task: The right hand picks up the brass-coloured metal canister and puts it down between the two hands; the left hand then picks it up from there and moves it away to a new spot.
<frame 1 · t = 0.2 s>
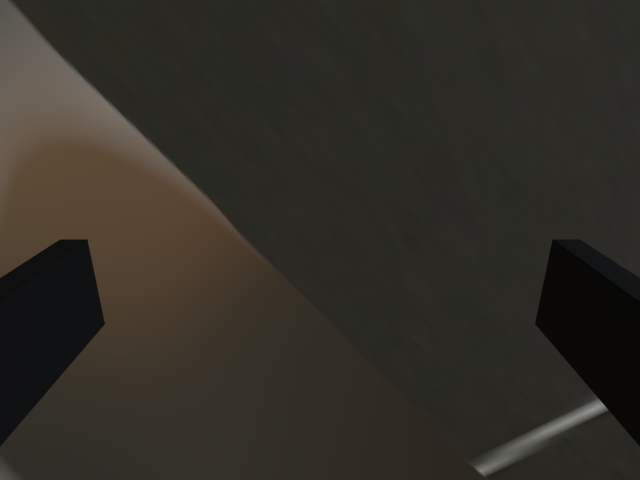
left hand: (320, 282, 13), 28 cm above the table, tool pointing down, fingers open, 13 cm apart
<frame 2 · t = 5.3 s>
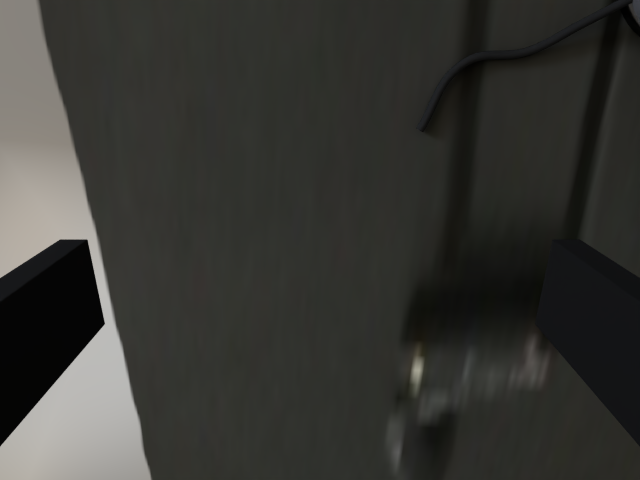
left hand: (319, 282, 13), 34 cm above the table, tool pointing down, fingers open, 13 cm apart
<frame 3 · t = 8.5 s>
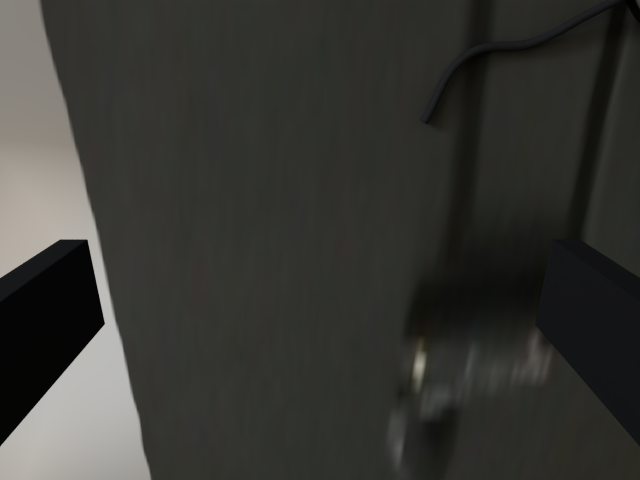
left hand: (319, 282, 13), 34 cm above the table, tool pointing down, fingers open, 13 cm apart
when the right hand's fingers open (7 cm above the table, at t = 11.7 s): canister drops 1 cm, on the table.
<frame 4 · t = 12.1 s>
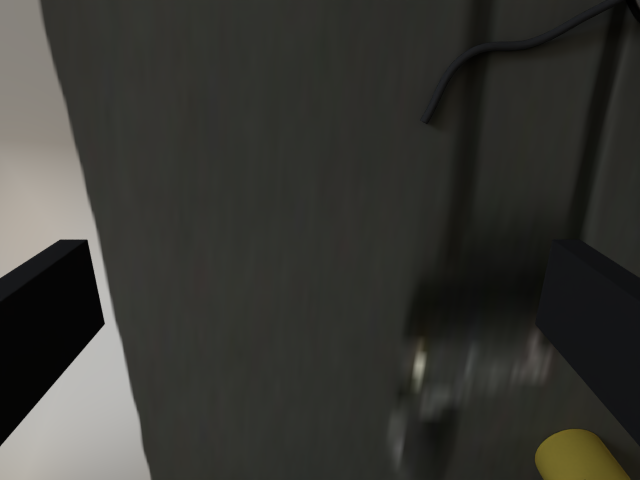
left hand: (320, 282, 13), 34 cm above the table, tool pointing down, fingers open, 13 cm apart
canister: (568, 454, 59), on the table
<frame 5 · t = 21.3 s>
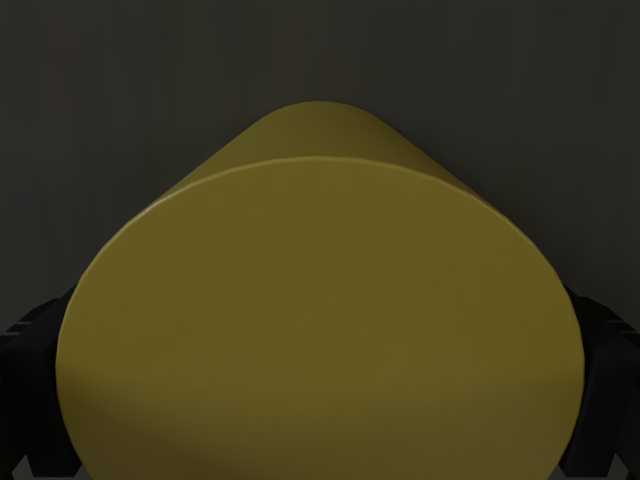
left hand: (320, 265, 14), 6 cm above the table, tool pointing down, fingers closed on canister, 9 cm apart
canister: (320, 210, 19), on the table, touching left hand
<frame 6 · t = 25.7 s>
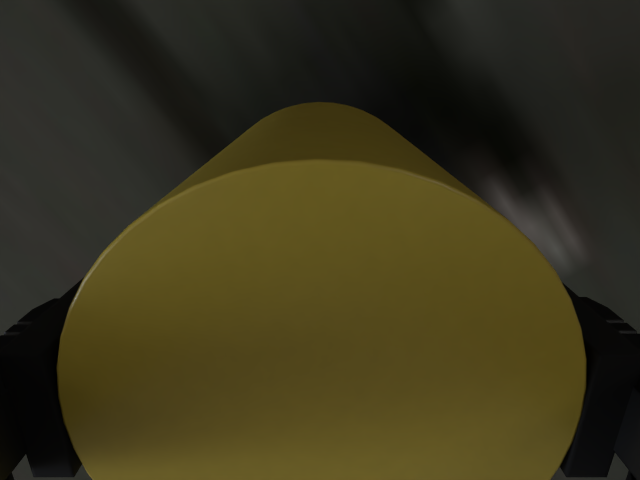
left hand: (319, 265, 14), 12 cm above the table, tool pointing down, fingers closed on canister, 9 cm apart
canister: (320, 211, 19), point 7 cm above the table, touching left hand
when the left hand's fingers open (7 cm above the table, at t = 30.4 s): canister drops 1 cm, on the table.
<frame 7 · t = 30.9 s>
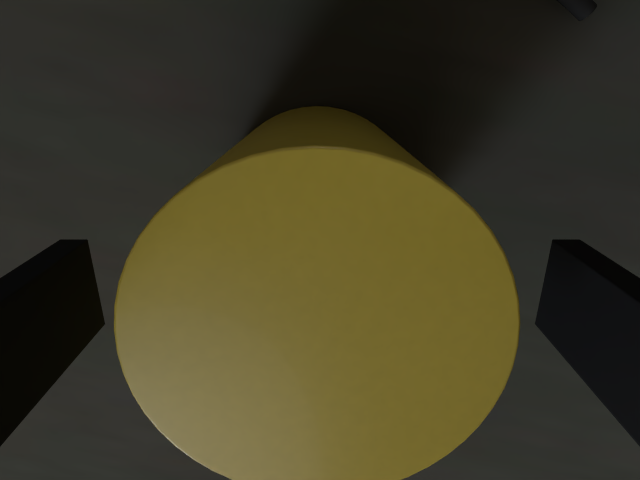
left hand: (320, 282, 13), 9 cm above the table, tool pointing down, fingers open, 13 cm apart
canister: (317, 203, 21), on the table
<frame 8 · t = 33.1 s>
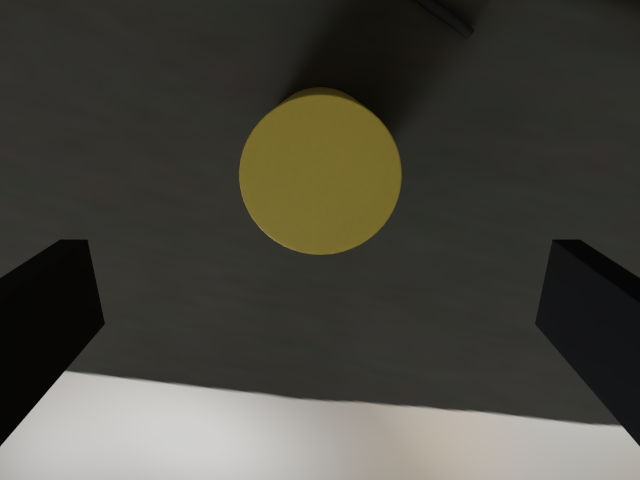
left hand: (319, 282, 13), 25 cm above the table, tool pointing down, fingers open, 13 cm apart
canister: (320, 145, 36), on the table
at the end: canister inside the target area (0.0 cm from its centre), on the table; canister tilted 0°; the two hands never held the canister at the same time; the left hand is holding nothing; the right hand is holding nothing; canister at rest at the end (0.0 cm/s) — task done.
